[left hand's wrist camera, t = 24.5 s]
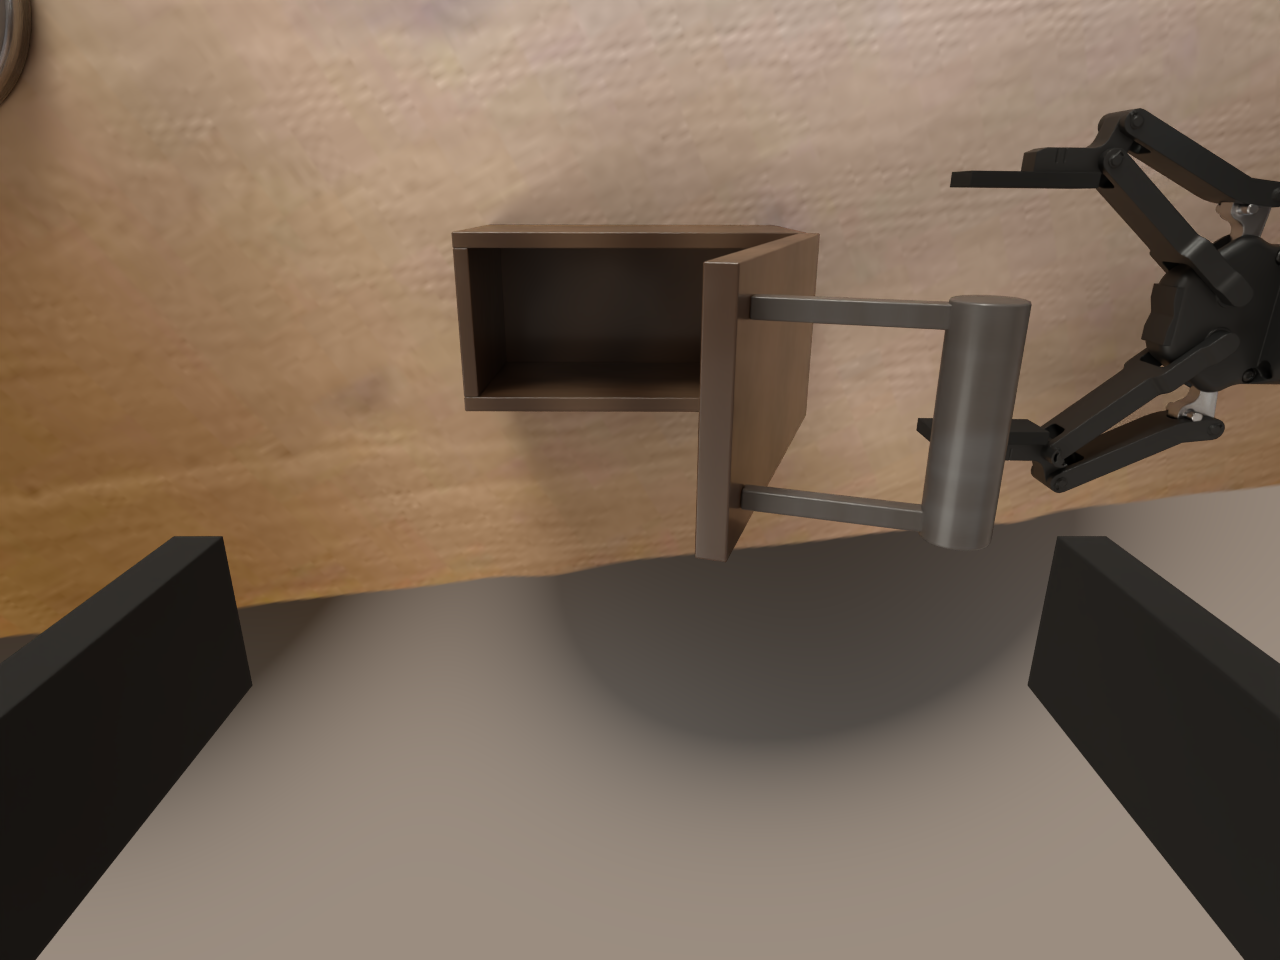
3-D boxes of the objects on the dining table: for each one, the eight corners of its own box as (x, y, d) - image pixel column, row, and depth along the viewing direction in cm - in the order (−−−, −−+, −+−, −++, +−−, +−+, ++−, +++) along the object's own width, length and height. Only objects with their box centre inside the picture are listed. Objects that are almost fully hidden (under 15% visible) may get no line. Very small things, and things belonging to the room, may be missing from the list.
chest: (497, 371, 51) (465, 411, 42) (488, 224, 48) (451, 231, 39) (765, 371, 51) (793, 412, 42) (774, 225, 48) (806, 232, 38)
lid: (694, 558, 25) (990, 602, 22) (702, 261, 22) (1049, 271, 19) (786, 414, 41) (962, 429, 39) (798, 233, 38) (991, 236, 35)
